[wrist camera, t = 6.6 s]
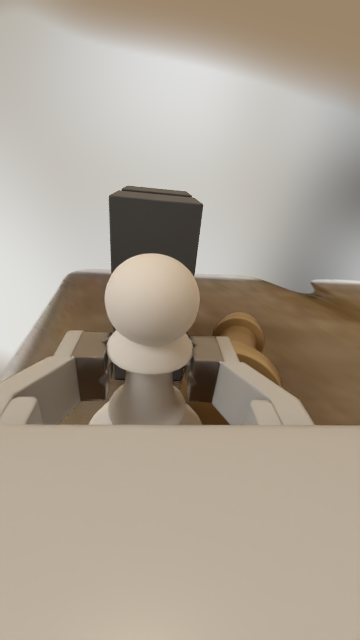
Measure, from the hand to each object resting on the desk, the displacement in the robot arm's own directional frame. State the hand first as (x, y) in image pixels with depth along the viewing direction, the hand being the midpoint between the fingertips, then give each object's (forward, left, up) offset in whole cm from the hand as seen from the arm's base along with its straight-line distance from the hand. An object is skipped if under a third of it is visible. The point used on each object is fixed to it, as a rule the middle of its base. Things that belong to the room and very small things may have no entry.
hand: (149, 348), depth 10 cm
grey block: (0, +6, -5) cm, 8 cm away
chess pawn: (0, -1, -5) cm, 5 cm away
